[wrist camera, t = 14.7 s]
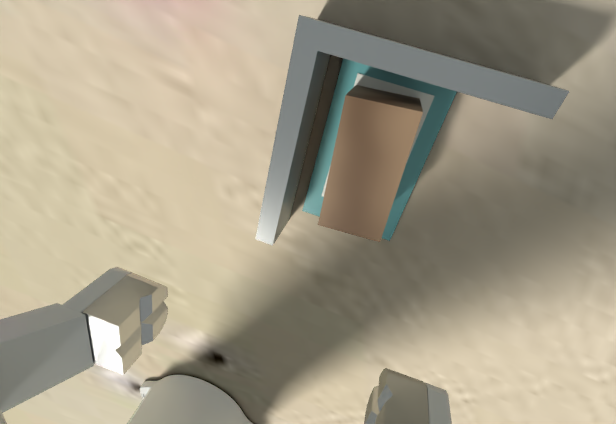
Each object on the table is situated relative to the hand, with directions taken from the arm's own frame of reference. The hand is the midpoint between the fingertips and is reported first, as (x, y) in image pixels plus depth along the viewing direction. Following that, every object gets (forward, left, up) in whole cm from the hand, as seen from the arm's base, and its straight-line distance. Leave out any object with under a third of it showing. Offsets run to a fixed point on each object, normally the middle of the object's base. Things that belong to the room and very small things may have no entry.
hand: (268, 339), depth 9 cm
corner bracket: (-1, -2, -20) cm, 20 cm away
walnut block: (0, -1, -19) cm, 19 cm away
